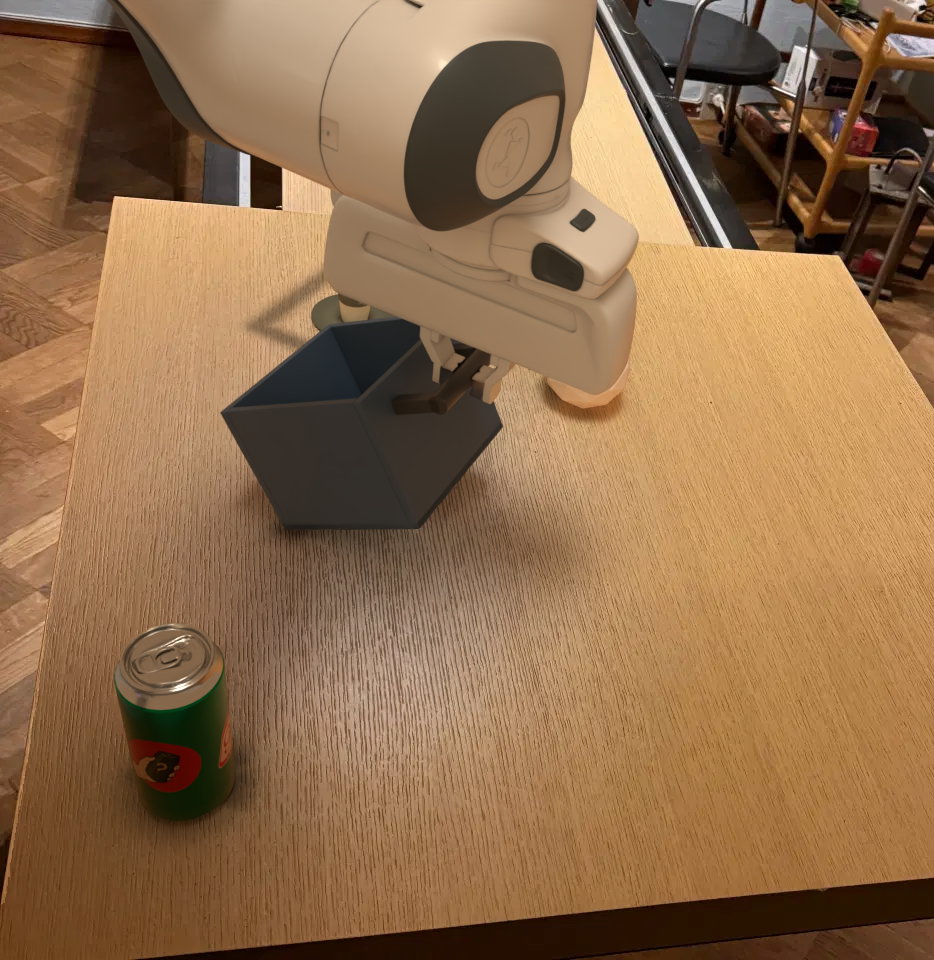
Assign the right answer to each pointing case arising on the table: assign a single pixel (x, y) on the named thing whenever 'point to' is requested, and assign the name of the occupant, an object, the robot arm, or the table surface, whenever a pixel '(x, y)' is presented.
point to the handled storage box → (362, 428)
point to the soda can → (176, 720)
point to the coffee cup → (343, 311)
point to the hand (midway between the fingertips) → (466, 388)
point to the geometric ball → (587, 399)
